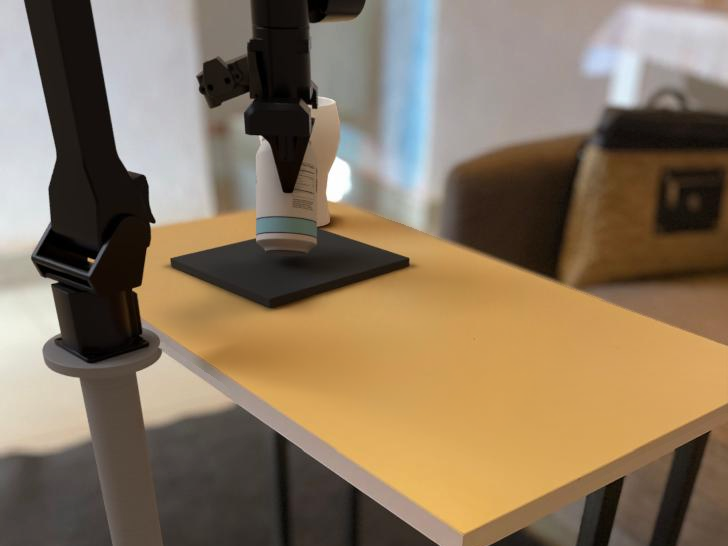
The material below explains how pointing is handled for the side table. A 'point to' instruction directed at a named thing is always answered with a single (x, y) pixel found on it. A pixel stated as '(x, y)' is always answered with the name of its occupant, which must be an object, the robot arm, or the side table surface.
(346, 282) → the mat
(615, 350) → the side table surface
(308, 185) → the beverage can
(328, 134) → the cup
